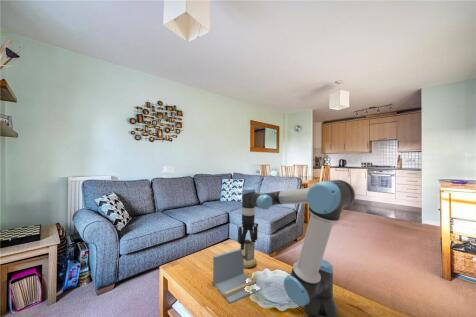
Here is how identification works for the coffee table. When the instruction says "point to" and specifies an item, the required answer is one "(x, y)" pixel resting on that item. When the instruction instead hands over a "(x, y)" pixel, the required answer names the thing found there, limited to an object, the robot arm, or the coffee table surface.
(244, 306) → the coffee table surface
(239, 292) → the bracket
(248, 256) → the cabinet block
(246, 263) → the acorn cap
